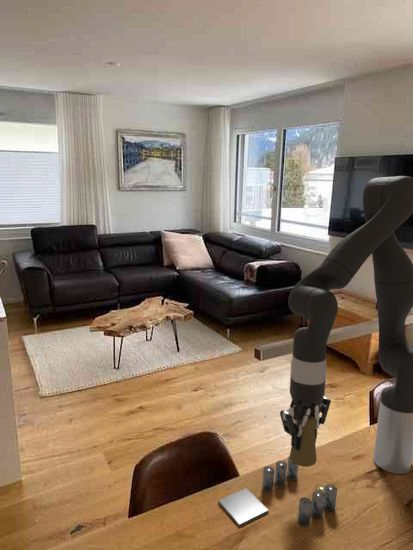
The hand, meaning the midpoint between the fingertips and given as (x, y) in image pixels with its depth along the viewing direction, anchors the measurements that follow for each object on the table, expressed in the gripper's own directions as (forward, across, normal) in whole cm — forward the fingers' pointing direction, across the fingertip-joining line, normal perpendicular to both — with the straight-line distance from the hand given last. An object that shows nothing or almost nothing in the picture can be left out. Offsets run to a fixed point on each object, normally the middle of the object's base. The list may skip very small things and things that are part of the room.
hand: (303, 445), depth 94 cm
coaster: (+13, +14, -4) cm, 20 cm away
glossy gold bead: (+14, -6, +1) cm, 15 cm away
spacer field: (+14, +1, 0) cm, 14 cm away
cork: (+4, 0, 0) cm, 4 cm away
